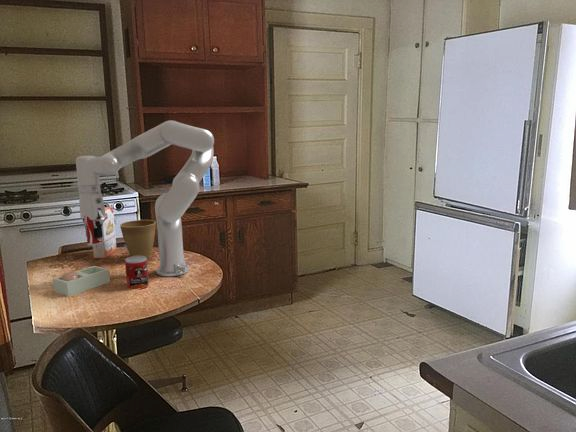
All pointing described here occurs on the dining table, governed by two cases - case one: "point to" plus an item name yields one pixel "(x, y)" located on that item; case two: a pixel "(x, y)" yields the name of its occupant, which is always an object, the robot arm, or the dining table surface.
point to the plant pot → (139, 236)
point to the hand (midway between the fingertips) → (94, 236)
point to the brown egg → (70, 276)
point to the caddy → (82, 281)
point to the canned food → (136, 272)
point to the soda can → (91, 232)
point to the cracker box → (106, 236)
